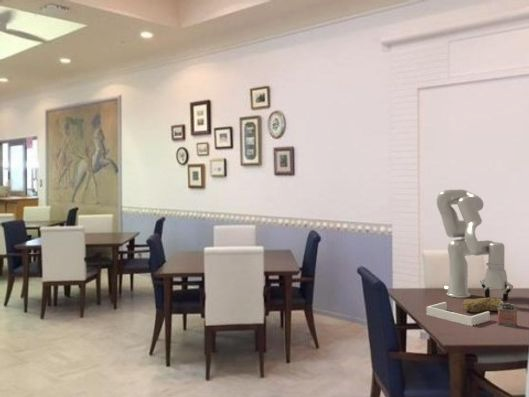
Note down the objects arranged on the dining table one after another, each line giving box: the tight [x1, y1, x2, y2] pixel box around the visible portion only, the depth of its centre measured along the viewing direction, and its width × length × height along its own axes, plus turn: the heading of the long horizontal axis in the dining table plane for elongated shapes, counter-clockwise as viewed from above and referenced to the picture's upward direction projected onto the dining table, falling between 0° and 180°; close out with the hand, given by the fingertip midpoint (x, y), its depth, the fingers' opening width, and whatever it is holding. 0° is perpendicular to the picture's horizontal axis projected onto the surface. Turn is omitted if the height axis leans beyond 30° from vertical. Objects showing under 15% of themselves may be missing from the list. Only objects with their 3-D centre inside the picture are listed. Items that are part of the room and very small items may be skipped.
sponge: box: [461, 297, 506, 313], centre depth 254 cm, size 13×8×20 cm
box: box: [425, 301, 491, 327], centre depth 244 cm, size 24×15×4 cm, turn 36°
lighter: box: [497, 302, 518, 327], centre depth 230 cm, size 8×3×10 cm, turn 71°
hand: (496, 299), depth 264 cm, fingers open, 9 cm apart
